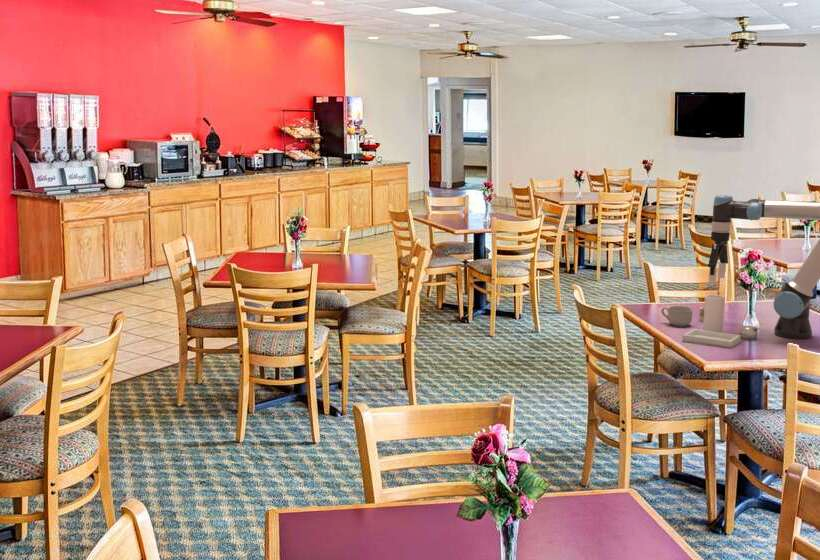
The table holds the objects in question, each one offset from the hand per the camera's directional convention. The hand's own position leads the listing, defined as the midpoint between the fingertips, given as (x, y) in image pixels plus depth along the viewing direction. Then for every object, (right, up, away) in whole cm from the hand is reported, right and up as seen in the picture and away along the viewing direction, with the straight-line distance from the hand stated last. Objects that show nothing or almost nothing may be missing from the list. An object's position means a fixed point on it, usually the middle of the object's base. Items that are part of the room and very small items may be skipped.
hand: (716, 280), depth 404 cm
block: (+3, -19, +27) cm, 33 cm away
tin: (+11, -25, -7) cm, 28 cm away
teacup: (-12, -20, +19) cm, 30 cm away
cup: (0, -23, +4) cm, 23 cm away
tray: (-6, -26, -13) cm, 30 cm away
